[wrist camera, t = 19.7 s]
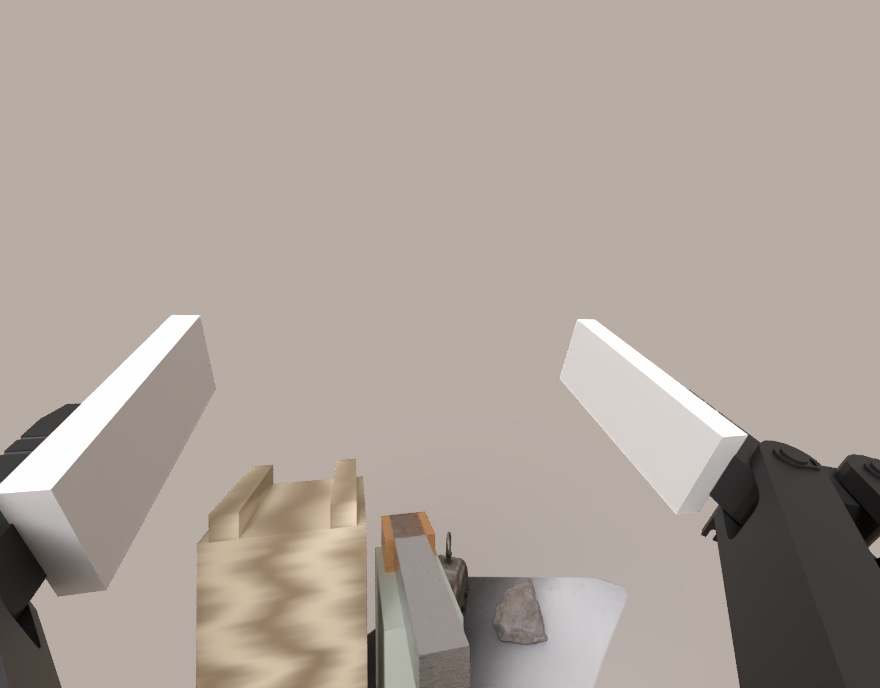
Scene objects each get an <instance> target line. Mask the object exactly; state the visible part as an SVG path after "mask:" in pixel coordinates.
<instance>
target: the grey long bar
mask: <svg viewBox="0 0 880 688" xmlns="http://www.w3.org/2000/svg"><path fill="white" fill-rule="evenodd" d="M381 538H382V539H381V544H382V552H383V560H384V567H385V573H388V572H395V576H396V582H397V587H398V593H399V598H400V604H401V609H402V615H403V620H404V626H405V631H406V637H407V642H408V648H409V653H410V659H411V664H412V670H413V675H414V681H415V686H416V688H470V645H469V643H468V640H467V638H466V635H465V633H464V630H463V628H462V625H461V623H460V620H459V617H458V615H457V612H456V610H455V607H454V605H453V602H452V600H451V597H450V595H449V592H448V589H447V587H446V584H445V582H444V579H443V577H442V574H441V572H440V569H439V567H438V564H437V561H436V559H435V533H434V531H433V528H432V526H431V524H430V522H429V519H428V517H427V515H426V513H425V512H416V513H408V514H398V515H390V516H381Z"/></svg>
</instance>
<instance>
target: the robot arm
mask: <svg viewBox="0 0 880 688" xmlns="http://www.w3.org/2000/svg"><path fill="white" fill-rule="evenodd" d="M560 380H561V381H562V382H563V383H564V384H565V386H566V387H567V388H568V389H569V390H570V391H571V393H572V394H573V395H574V396H575V397H576V398H577V400H578V401H579V402H580V403H581V404H582V405H583V407H584V408H585V409H586V410H587V411H588V412H589V413H590V415H591V416H592V417H593V418H594V419H595V421H596V422H597V423H598V424H599V425H600V426H601V427H602V429H603V430H604V431H605V432H606V433H607V435H608V436H609V437H610V438H611V439H612V440H613V442H614V443H615V444H616V445H617V446H618V447H619V449H621V451H622V452H623V453H624V454H625V455H626V457H627V458H628V459H629V460H630V461H631V462H632V464H633V465H634V466H635V467H636V468H637V469H638V471H639V472H640V473H641V474H642V475H643V476H644V478H645V479H646V480H647V481H648V482H649V483H650V485H651V486H652V487H653V488H654V489H655V490H656V492H657V493H658V494H659V495H660V496H661V497H662V499H663V500H664V501H665V502H666V503H667V504H668V506H669V507H670V508H671V509H672V510H673V511H674V513H675V514H684V513H692V512H699V511H700V510H701V508H702V506H703V505H704V503H705V502H706V500H707V499H708V497H709V496H711V497H712V498H713V499H714V500H715V501H716V502H717V503H718V504H719V505H718V507H717V508H716V510H715V511H714V513H713V514H712V516H711V517H710V519H709V520H708V522H707V523H706V525H705V526H704V528H703V529H702V534H701V535H703V536H705V537H706V536H707V534H708V533H709V532H710V530H713V529H714V530H716V535H715V536H714V538H713V540H714V541H716V542H718V548H719V555H720V561H721V567H722V574H723V580H724V587H725V593H726V600H727V607H728V613H729V619H730V626H731V633H732V639H733V645H734V652H735V658H736V664H737V671H738V678H739V684H740V688H880V558H876V557H875V556H874V555H873V554H872V553H871V552H870V550H869V548H868V547H869V546H870V545H871V544H872V543H873V542H874V541H875V540H877V539H878V538H879V537H880V460H878V459H875V458H874V459H873V458H870V457H866V456H863V455H855V454H853V455H849V456H847V457H846V458H845V460H844V461H843V462H842V463H841V464H840V466H839V467H838V468H832V467H826V466H821V465H820V464H819V463H818V462H817V461H816V460H815V459H813V458H812V457H811V456H809V455H807V454H805V453H804V452H802V451H800V450H799V449H797V448H794V447H792V446H789V445H787V444H784V443H780V442H776V441H763V442H761V443H760V442H759V441H757V440H756V439H755V438H753V437H752V436H751V435H749V434H748V433H747V432H745V431H744V430H743V429H741V428H740V427H739V426H737V425H736V424H735V423H733V422H732V421H731V420H729V419H728V418H726V417H725V416H724V415H723V414H721V413H720V412H717V411H716V410H715V409H714V408H713V407H712V406H711V405H709V404H708V403H705V402H704V400H703V399H701V398H700V397H699V396H697V395H696V394H695V393H693V392H692V391H691V390H688V389H687V388H685V387H683V386H682V385H681V384H679V383H678V382H677V381H675V380H674V379H673V378H672V377H670V376H669V375H668V374H666V373H665V372H663V371H662V370H661V369H659V368H658V367H657V366H656V365H654V364H653V363H652V362H650V361H649V360H648V359H646V358H645V357H644V356H642V355H641V354H639V353H638V352H637V351H636V350H634V349H633V348H632V347H630V346H629V345H628V344H626V343H625V342H624V341H622V340H621V339H619V338H618V337H617V336H616V335H614V334H613V333H612V332H610V331H609V330H608V329H606V328H605V327H604V326H602V325H601V324H600V323H598V322H597V321H596V320H583V319H580V320H579V319H578V320H577V322H576V325H575V329H574V332H573V335H572V339H571V342H570V346H569V348H568V352H567V355H566V359H565V362H564V365H563V369H562V372H561V375H560ZM215 389H216V387H215V383H214V378H213V373H212V369H211V364H210V360H209V355H208V351H207V346H206V341H205V336H204V332H203V327H202V323H201V318H200V315H199V316H197V315H196V316H194V315H172V316H171V317H169V318H168V320H167V321H165V322H164V323H163V324H162V325H161V326H160V327H159V328H158V329H157V330H156V331H155V332H154V333H153V334H152V335H151V336H150V337H149V338H148V339H147V340H146V341H145V342H144V343H143V344H142V345H141V346H140V347H139V348H138V349H137V350H136V351H135V352H134V353H133V354H132V355H131V356H130V357H129V358H128V359H127V360H126V361H125V362H124V363H123V364H122V365H121V366H120V367H119V368H118V369H117V370H116V371H115V372H114V373H113V374H111V375H110V376H109V378H107V379H106V380H105V382H103V383H102V384H101V385H100V386H99V387H98V388H97V389H96V390H95V391H94V392H93V393H92V394H91V395H90V396H89V397H88V398H87V399H86V400H85V401H84V402H83V403H82V404H66V405H64V406H63V407H61V408H59V409H57V410H55V411H54V412H52V413H50V414H48V415H47V416H45V417H43V418H41V419H40V420H39V421H37V422H36V423H35V424H34V425H33V426H32V427H31V428H30V429H28V430H27V431H26V432H25V433H24V434H23V435H22V436H21V439H20V440H17V441H15V442H14V443H13V444H12V445H11V446H10V447H9V448H7V449H6V450H5V451H4V452H5V453H4V455H0V688H61V685H60V681H59V678H58V675H57V672H56V669H55V666H54V663H53V660H52V657H51V654H50V650H49V647H48V644H47V641H46V638H45V635H44V632H43V629H42V626H41V622H40V619H39V616H38V613H37V610H36V609H35V607H34V606H33V605H32V603H31V602H30V600H31V598H32V597H33V596H34V594H35V593H36V591H37V590H38V588H39V587H40V586H41V584H42V583H43V581H44V580H45V578H46V580H47V581H48V582H49V584H50V586H51V587H52V588H53V590H54V592H55V593H56V594H57V596H65V595H73V594H81V593H88V592H96V591H103V590H106V589H107V588H108V586H109V584H110V582H111V580H112V579H113V577H114V575H115V573H116V571H117V569H118V567H119V566H120V564H121V562H122V560H123V558H124V557H125V555H126V553H127V551H128V549H129V547H130V546H131V544H132V542H133V540H134V538H135V536H136V535H137V533H138V531H139V529H140V527H141V525H142V523H143V522H144V520H145V518H146V516H147V514H148V512H149V511H150V509H151V507H152V505H153V503H154V501H155V500H156V498H157V496H158V494H159V492H160V490H161V488H162V487H163V485H164V483H165V481H166V479H167V477H168V476H169V474H170V472H171V470H172V468H173V466H174V465H175V463H176V461H177V459H178V457H179V455H180V454H181V452H182V450H183V448H184V446H185V445H186V443H187V441H188V439H189V437H190V435H191V433H192V432H193V430H194V428H195V426H196V424H197V422H198V420H199V419H200V417H201V415H202V413H203V411H204V410H205V407H206V406H207V404H208V402H209V400H210V399H211V397H212V395H213V393H214V391H215Z"/></svg>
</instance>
